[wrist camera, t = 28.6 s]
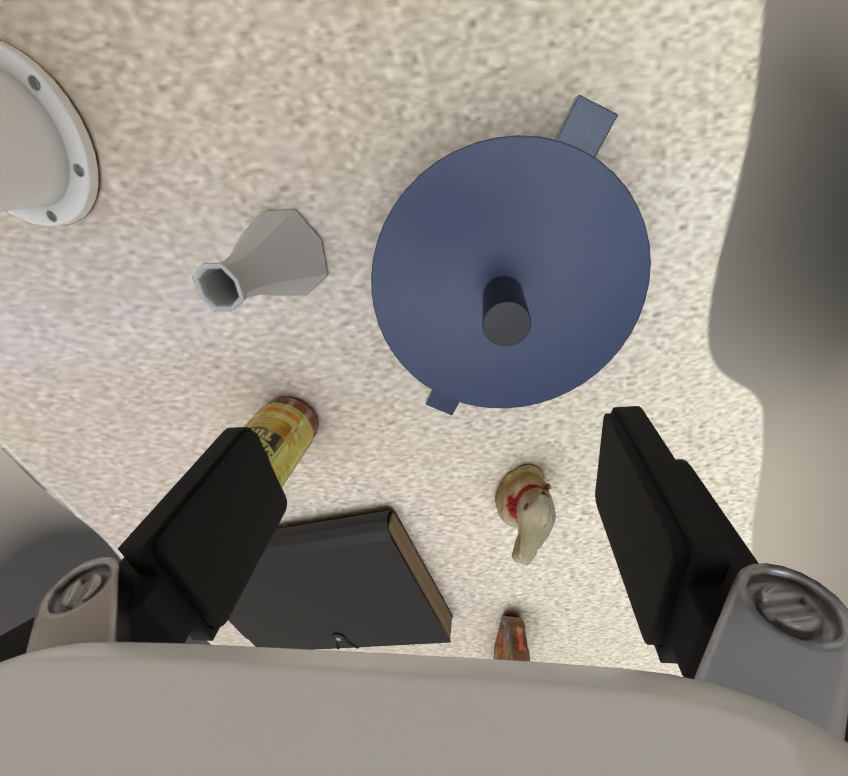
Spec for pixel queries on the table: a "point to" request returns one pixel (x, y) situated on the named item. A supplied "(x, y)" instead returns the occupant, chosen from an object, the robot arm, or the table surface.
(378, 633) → the file folder
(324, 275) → the flask
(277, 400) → the sauce bottle
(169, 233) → the table surface
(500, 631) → the tin
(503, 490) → the chocolate bunny
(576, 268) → the lid
